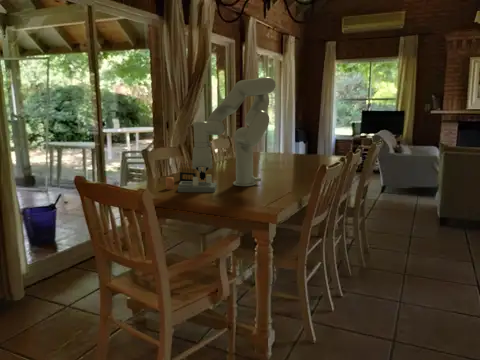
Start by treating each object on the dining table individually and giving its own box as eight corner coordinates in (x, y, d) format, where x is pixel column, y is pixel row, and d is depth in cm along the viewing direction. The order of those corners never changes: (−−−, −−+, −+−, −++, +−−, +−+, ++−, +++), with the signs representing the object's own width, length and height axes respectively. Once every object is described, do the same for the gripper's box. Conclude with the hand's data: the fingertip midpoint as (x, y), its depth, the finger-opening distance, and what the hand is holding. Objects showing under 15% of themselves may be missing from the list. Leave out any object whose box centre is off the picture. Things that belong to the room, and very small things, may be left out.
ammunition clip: (179, 180, 237) (178, 160, 235) (181, 180, 239) (180, 160, 237) (196, 181, 234) (195, 161, 231) (197, 181, 235) (196, 160, 233)
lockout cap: (175, 188, 217) (174, 177, 216) (173, 189, 213) (173, 178, 212) (166, 188, 217) (166, 177, 216) (165, 189, 213) (164, 178, 212)
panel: (216, 187, 218) (216, 180, 218) (214, 192, 207) (214, 185, 206) (181, 187, 219) (181, 180, 218) (177, 192, 207) (177, 185, 206)
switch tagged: (211, 183, 216) (211, 174, 215) (211, 184, 213) (210, 175, 212) (206, 183, 216) (206, 174, 215) (206, 184, 213) (206, 175, 212)
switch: (198, 185, 210) (198, 176, 209) (197, 186, 207) (197, 177, 206) (193, 185, 210) (193, 176, 209) (193, 186, 207) (192, 177, 206)
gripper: (216, 144, 214) (217, 178, 218) (188, 144, 215) (189, 178, 218) (215, 145, 207) (216, 180, 210) (186, 146, 207) (187, 181, 211)
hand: (202, 179), depth 214 cm, fingers closed
